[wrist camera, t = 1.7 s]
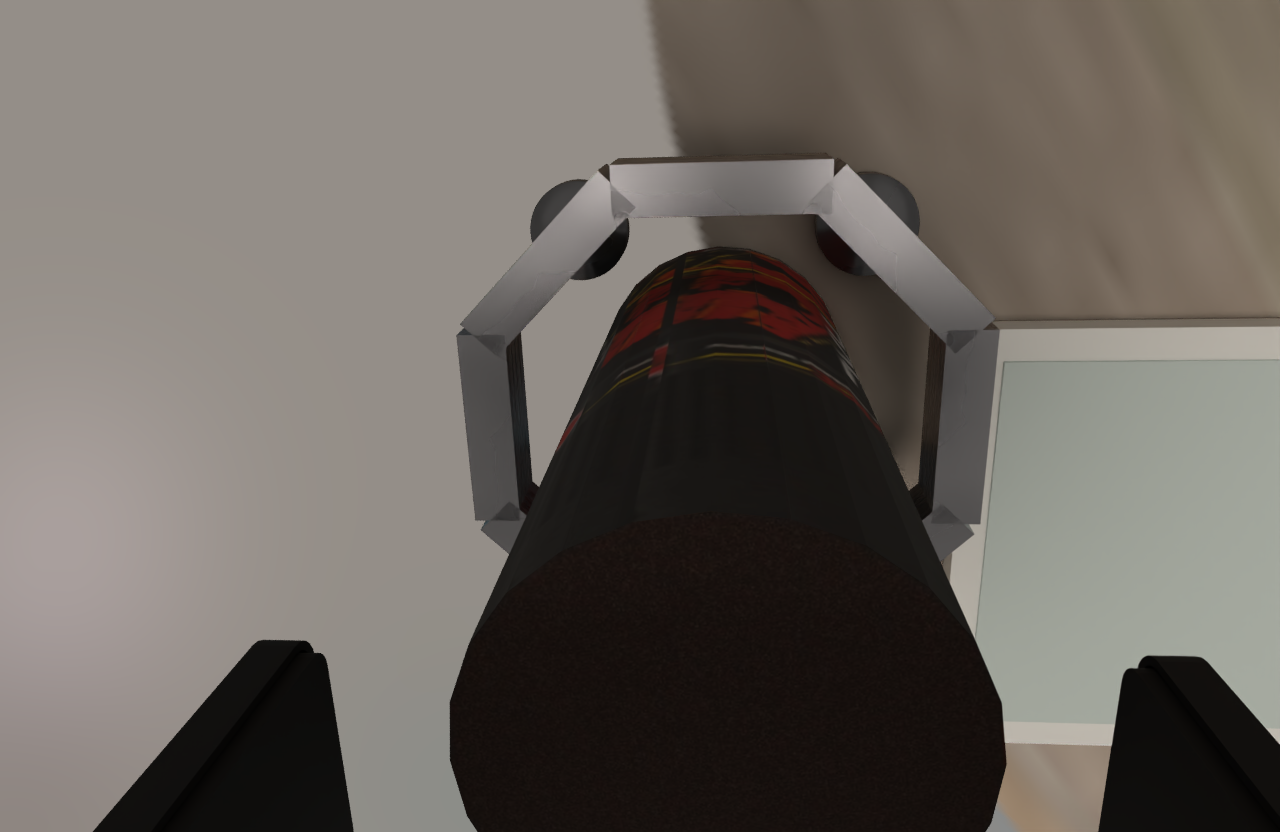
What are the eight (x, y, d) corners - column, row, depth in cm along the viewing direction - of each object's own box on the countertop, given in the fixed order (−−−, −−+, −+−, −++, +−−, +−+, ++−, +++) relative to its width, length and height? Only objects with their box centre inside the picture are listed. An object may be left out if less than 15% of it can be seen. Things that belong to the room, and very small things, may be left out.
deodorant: (888, 355, 24) (1130, 765, 10) (726, 509, 25) (730, 1042, 11) (716, 195, 23) (706, 389, 9) (561, 367, 24) (342, 759, 10)
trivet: (964, 321, 23) (973, 330, 22) (1485, 315, 22) (1516, 325, 21) (929, 722, 27) (936, 743, 26) (1368, 734, 26) (1389, 755, 25)
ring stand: (498, 150, 23) (439, 169, 18) (953, 137, 22) (1017, 153, 17) (530, 547, 26) (488, 649, 22) (921, 551, 25) (967, 658, 21)
